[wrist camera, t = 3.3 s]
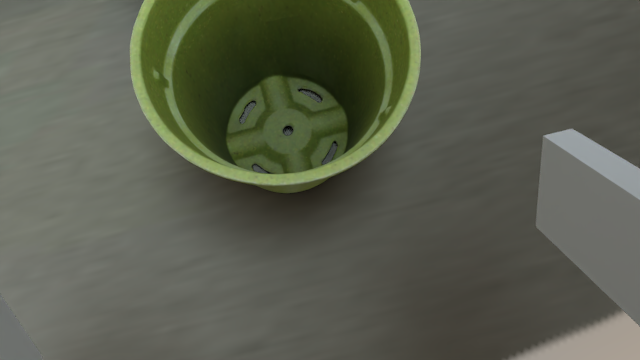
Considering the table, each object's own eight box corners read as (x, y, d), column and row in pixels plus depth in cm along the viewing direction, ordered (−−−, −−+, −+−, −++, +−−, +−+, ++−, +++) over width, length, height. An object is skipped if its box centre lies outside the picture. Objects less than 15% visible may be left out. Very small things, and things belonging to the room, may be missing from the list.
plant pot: (331, 263, 22) (346, 238, 14) (156, 176, 23) (70, 102, 15) (411, 98, 25) (464, -10, 16) (248, 23, 26) (219, -115, 17)
